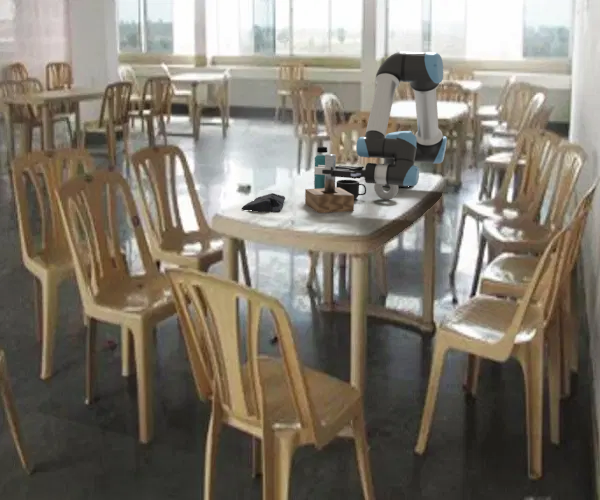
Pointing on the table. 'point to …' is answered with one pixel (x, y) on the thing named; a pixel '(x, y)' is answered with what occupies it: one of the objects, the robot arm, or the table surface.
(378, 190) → the donut
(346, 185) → the mug
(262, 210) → the dark slate chunk
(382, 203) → the table surface
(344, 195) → the block
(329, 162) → the pin
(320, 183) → the beverage bottle
